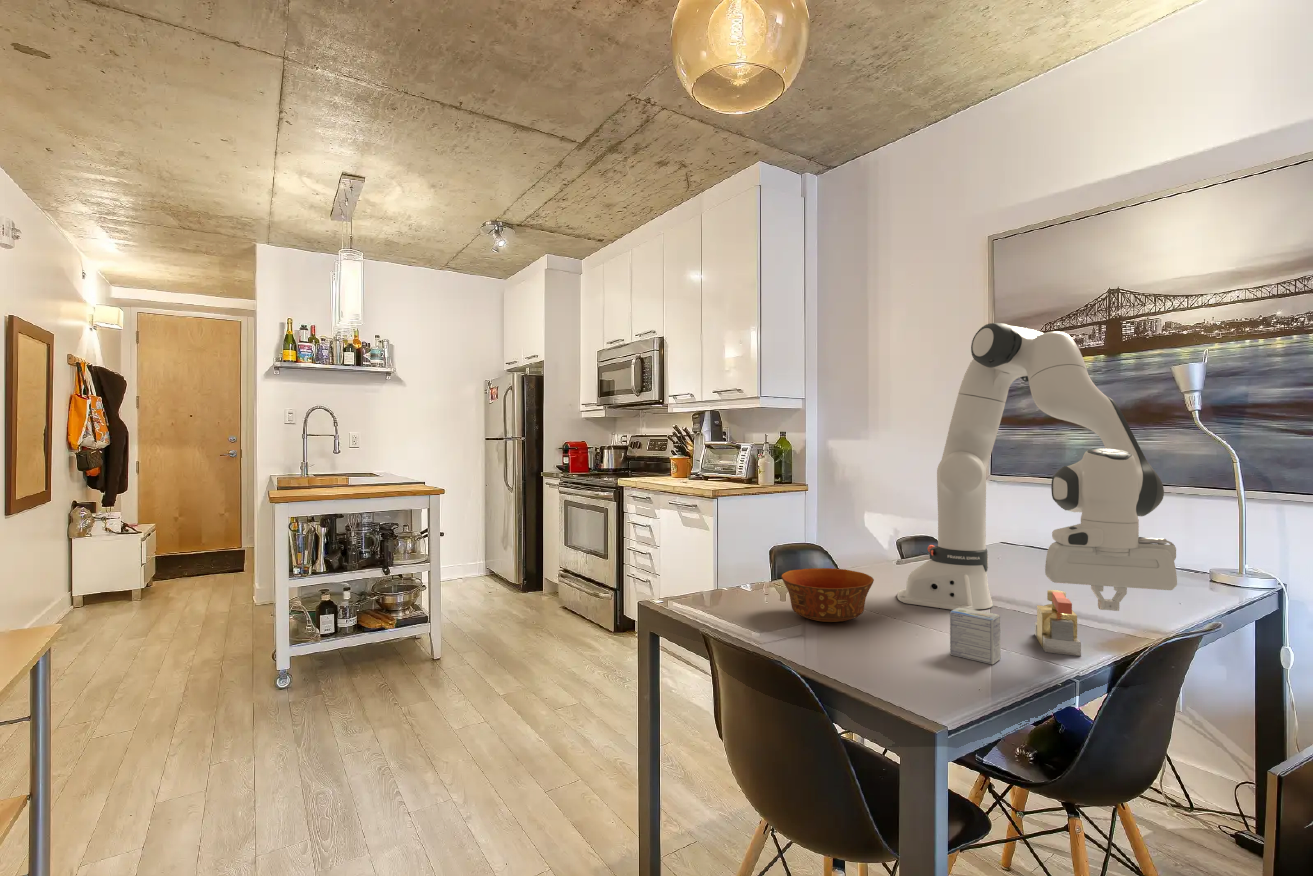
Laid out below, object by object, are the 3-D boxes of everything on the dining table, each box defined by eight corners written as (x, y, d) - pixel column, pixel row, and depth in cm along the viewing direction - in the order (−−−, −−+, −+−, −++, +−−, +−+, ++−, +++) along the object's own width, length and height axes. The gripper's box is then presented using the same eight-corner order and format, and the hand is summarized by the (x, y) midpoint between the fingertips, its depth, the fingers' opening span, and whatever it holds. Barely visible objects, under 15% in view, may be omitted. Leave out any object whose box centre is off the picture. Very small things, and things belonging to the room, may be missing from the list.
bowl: (793, 633, 137) (793, 586, 137) (772, 606, 158) (772, 567, 158) (888, 632, 138) (888, 586, 138) (854, 606, 159) (854, 566, 159)
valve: (1080, 656, 122) (1080, 610, 122) (1045, 652, 125) (1045, 607, 125) (1067, 637, 134) (1067, 596, 134) (1034, 634, 136) (1034, 593, 136)
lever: (1046, 598, 131) (1046, 588, 131) (1064, 599, 130) (1064, 589, 130) (1055, 612, 120) (1055, 602, 120) (1075, 614, 119) (1075, 604, 119)
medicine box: (1001, 660, 120) (1001, 614, 120) (993, 666, 117) (993, 619, 117) (958, 650, 126) (958, 606, 126) (949, 655, 123) (949, 610, 123)
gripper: (1168, 536, 118) (1167, 610, 118) (1042, 530, 124) (1042, 601, 124) (1184, 541, 112) (1184, 619, 112) (1052, 535, 118) (1051, 609, 118)
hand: (1108, 609), depth 118 cm, fingers closed
